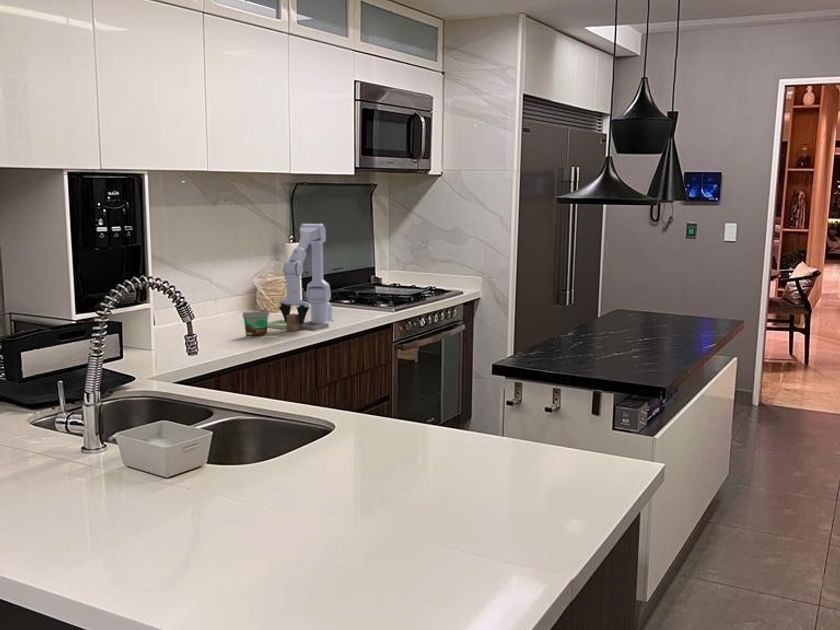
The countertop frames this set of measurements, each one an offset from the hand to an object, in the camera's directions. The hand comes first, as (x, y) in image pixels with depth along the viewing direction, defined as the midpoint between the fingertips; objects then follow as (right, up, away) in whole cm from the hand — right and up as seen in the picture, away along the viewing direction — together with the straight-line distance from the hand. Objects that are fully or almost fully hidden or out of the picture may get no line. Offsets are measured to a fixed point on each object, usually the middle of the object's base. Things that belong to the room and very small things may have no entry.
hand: (294, 323), depth 345 cm
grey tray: (+6, -3, +7) cm, 10 cm away
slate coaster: (0, -4, +1) cm, 4 cm away
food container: (-13, -5, -7) cm, 16 cm away
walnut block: (0, -3, 0) cm, 3 cm away
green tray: (-7, -2, +12) cm, 14 cm away
